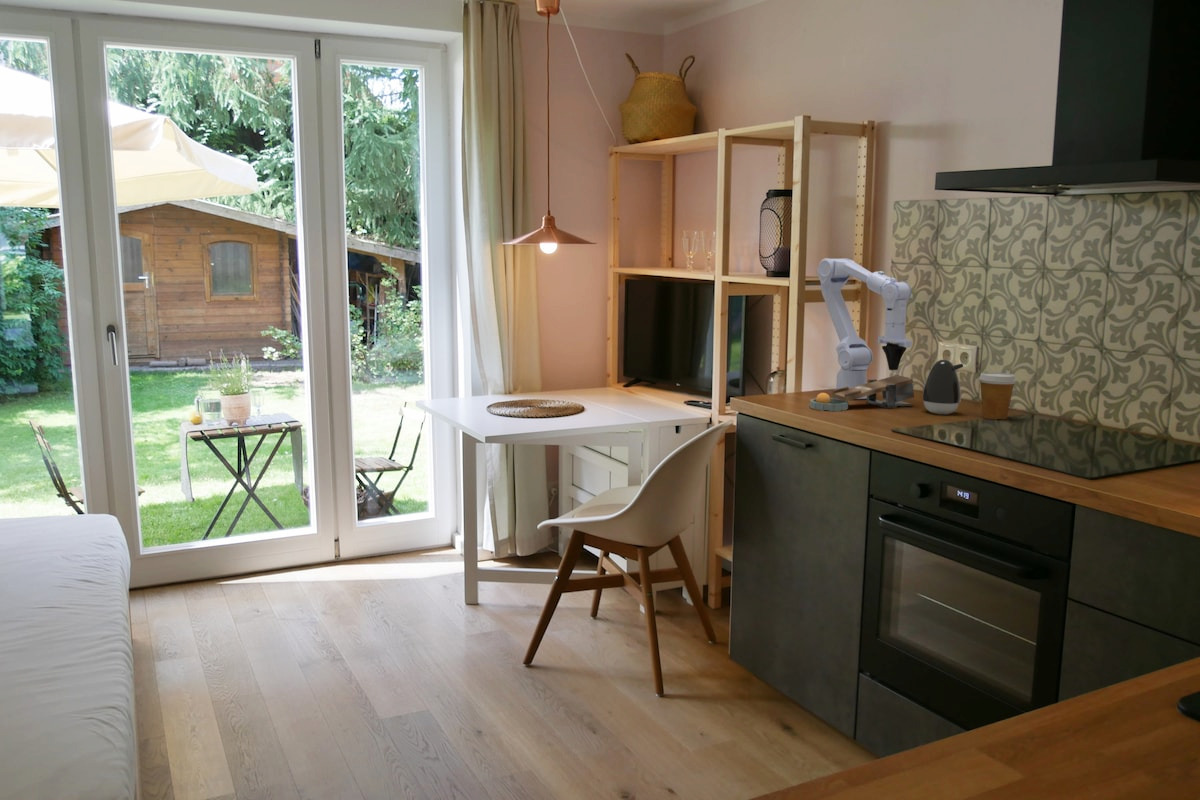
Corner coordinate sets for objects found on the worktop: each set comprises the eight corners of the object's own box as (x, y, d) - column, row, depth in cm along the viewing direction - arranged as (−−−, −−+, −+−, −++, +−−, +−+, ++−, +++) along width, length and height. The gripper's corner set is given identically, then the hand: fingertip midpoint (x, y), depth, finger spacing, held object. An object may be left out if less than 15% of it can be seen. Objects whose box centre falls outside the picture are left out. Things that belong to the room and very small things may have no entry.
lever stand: (893, 401, 295) (894, 378, 294) (915, 407, 285) (916, 383, 283) (866, 402, 293) (867, 379, 291) (887, 408, 282) (888, 384, 281)
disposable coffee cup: (1020, 420, 266) (1024, 376, 264) (990, 421, 264) (993, 377, 262) (998, 413, 275) (1001, 371, 273) (968, 415, 273) (971, 372, 271)
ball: (815, 390, 283) (827, 392, 284) (812, 404, 283) (824, 406, 284) (822, 392, 279) (834, 395, 280) (819, 406, 279) (831, 408, 281)
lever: (899, 393, 293) (896, 372, 292) (915, 397, 286) (912, 376, 284) (835, 411, 288) (831, 390, 287) (849, 416, 281) (846, 394, 279)
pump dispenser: (953, 417, 269) (957, 362, 267) (916, 413, 275) (919, 359, 273) (965, 412, 277) (969, 359, 275) (928, 408, 283) (932, 356, 281)
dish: (803, 405, 286) (803, 398, 286) (835, 404, 289) (836, 397, 289) (821, 411, 276) (821, 404, 276) (854, 410, 279) (855, 403, 279)
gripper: (922, 325, 280) (919, 372, 282) (893, 321, 294) (891, 366, 296) (900, 325, 278) (898, 373, 280) (872, 322, 292) (870, 367, 294)
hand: (893, 369), depth 288 cm, fingers closed
